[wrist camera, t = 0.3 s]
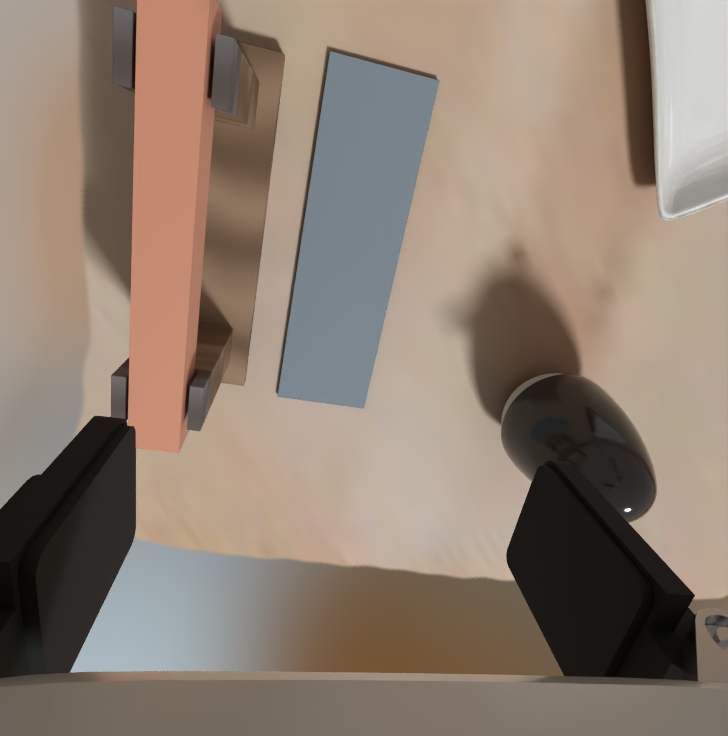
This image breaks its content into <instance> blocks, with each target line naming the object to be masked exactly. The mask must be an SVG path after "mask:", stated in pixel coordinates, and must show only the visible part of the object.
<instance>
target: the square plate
mask: <svg viewBox="0 0 728 736" xmlns="http://www.w3.org/2000/svg"><path fill="white" fill-rule="evenodd" d="M646 11H647V23H648V34H649V48H650V61H651V78H652V101H653V127H654V161H655V174H656V193H657V204H658V209H659V214H660V216H661V218H662V219H663V220H665V221H672V220H676V219H679V218H682V217H685V216H687V215H690V214H693V213H696V212H698V211H701V210H703V209H706V208H709V207H711V206H714V205H716V204H719V203H721V202H724V201H726V200H728V0H646Z"/></svg>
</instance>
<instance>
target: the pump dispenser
mask: <svg viewBox="0 0 728 736" xmlns="http://www.w3.org/2000/svg"><path fill="white" fill-rule="evenodd" d="M501 439H502V444H503V447H504V449H505V451H506V453H507V455H508V456H509V458H510V459H511V461H512V462H513V463H514V465H515V466H516V467H517V468H518V469H519V470H520V471H521V472H522V473H523V474H524V475H525V476H526V477H527V478H528V479H529V480H530V481H531V482H532V481H533V478H534V475H535V472H536V470H537V468H538V467H539V466H543V464H544V463H545V462H546V461H549V460H551V461H561V462H570V463H573V464H574V465H575V466H576V467H577V468H578V469H579V470H580V471H581V472H582V473H583V474H584V475H585V477H586V478H587V479H588V480H589V481H590V482H591V483H592V484H593V485H594V486H595V487H596V488H597V490H598V491H599V492H600V493H601V494H602V495H603V496H604V497H605V498H606V499H607V500H608V501H609V503H610V504H611V505H612V506H613V507H614V508H615V509H616V510H617V511H618V512H619V513H620V514H621V516H622V517H623V518H624V519H625V520H626V521H627V522H628V523H630V522H633V521H636V520H638V519H640V518H641V517H643V516H644V515H645V514H646V513H647V512H648V511H649V510H650V509H651V507H652V506H653V504H654V502H655V499H656V495H657V482H656V475H655V471H654V467H653V464H652V461H651V458H650V456H649V453H648V451H647V449H646V446H645V444H644V442H643V440H642V438H641V436H640V434H639V433H638V431H637V429H636V428H635V426H634V425H633V423H632V422H631V420H630V419H629V417H628V416H627V415H626V413H625V412H624V411H623V410H622V408H621V407H620V406H619V405H618V404H617V403H616V402H615V401H614V399H613V398H612V397H611V396H610V395H609V394H608V393H607V392H606V391H605V390H604V389H602V388H601V387H600V386H599V385H597V384H596V383H595V382H593V381H591V380H590V379H588V378H585V377H583V376H579V375H574V374H561V373H550V374H543V375H539V376H536V377H534V378H531V379H529V380H527V381H526V382H524V383H523V384H521V385H520V386H519V387H518V388H517V389H516V390H515V391H514V392H513V393H512V394H511V396H510V397H509V399H508V400H507V402H506V404H505V406H504V409H503V413H502V419H501Z"/></svg>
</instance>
